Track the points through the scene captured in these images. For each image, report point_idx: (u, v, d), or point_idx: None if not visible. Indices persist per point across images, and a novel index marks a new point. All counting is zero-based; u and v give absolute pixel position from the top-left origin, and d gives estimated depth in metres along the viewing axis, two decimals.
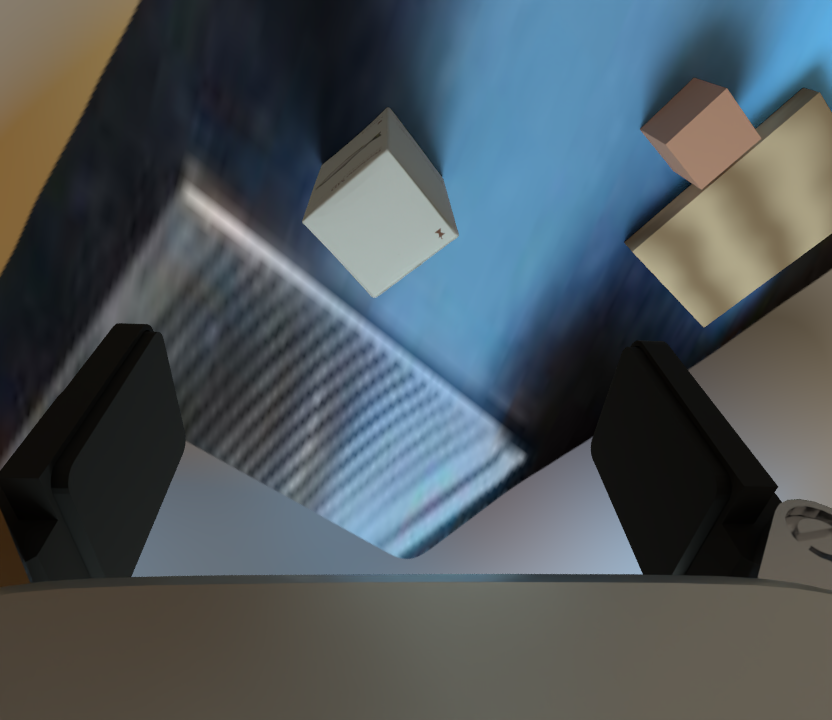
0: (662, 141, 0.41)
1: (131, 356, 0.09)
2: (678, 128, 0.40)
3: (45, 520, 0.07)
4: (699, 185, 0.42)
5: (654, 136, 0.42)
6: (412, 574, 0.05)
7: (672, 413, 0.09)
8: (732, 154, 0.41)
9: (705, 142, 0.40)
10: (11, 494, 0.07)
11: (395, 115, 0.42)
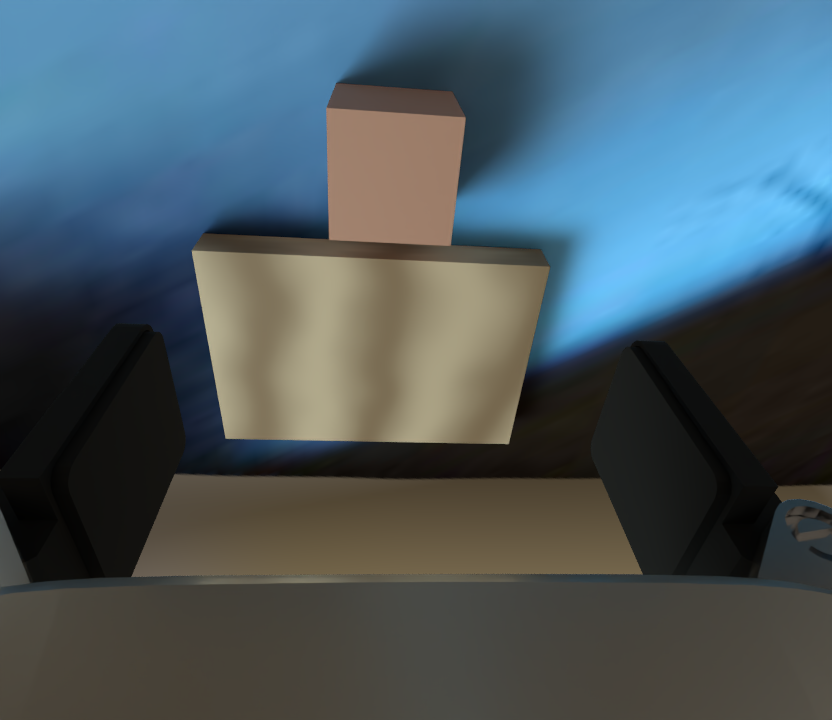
0: (330, 104, 0.20)
1: (131, 356, 0.09)
2: (364, 107, 0.20)
3: (45, 520, 0.07)
4: (330, 230, 0.22)
5: (333, 95, 0.21)
6: (412, 574, 0.05)
7: (672, 413, 0.09)
8: (403, 229, 0.22)
9: (382, 172, 0.21)
10: (11, 494, 0.07)
11: None
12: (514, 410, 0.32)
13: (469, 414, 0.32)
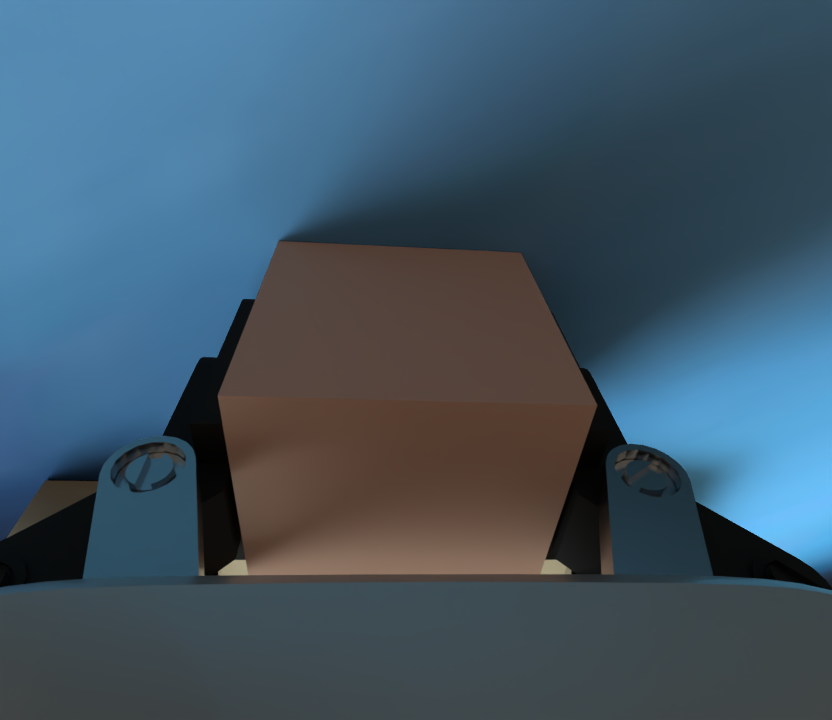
0: (235, 364, 0.08)
1: None
2: (326, 375, 0.07)
3: (221, 463, 0.08)
4: None
5: (256, 310, 0.09)
6: (412, 574, 0.05)
7: None
8: None
9: (375, 509, 0.08)
10: (196, 439, 0.08)
11: None
12: None
13: None
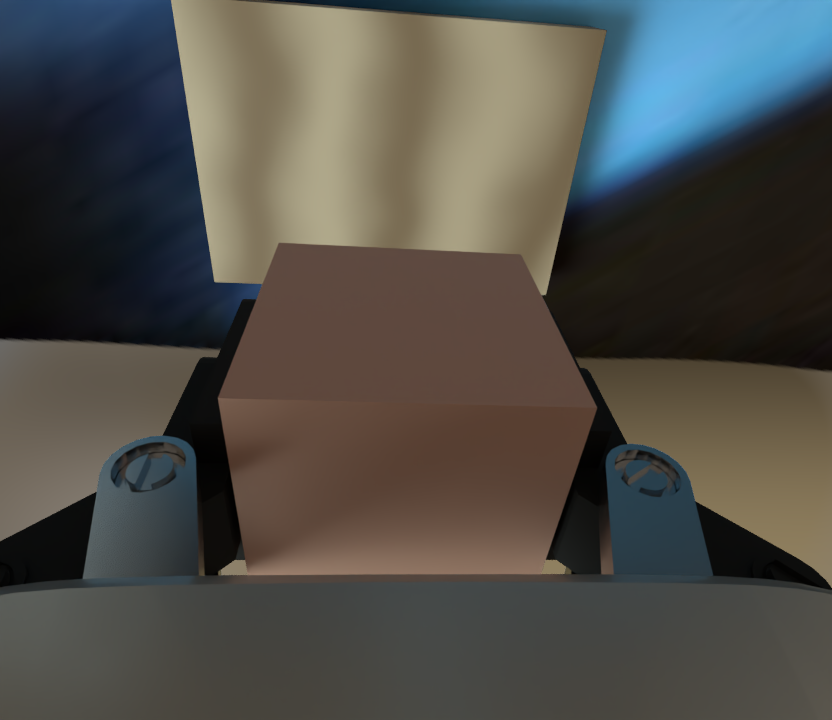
0: (235, 367, 0.08)
1: None
2: (327, 378, 0.07)
3: (221, 463, 0.08)
4: None
5: (256, 312, 0.09)
6: (412, 574, 0.05)
7: None
8: None
9: (374, 512, 0.08)
10: (197, 439, 0.08)
11: None
12: (554, 246, 0.27)
13: (502, 251, 0.27)
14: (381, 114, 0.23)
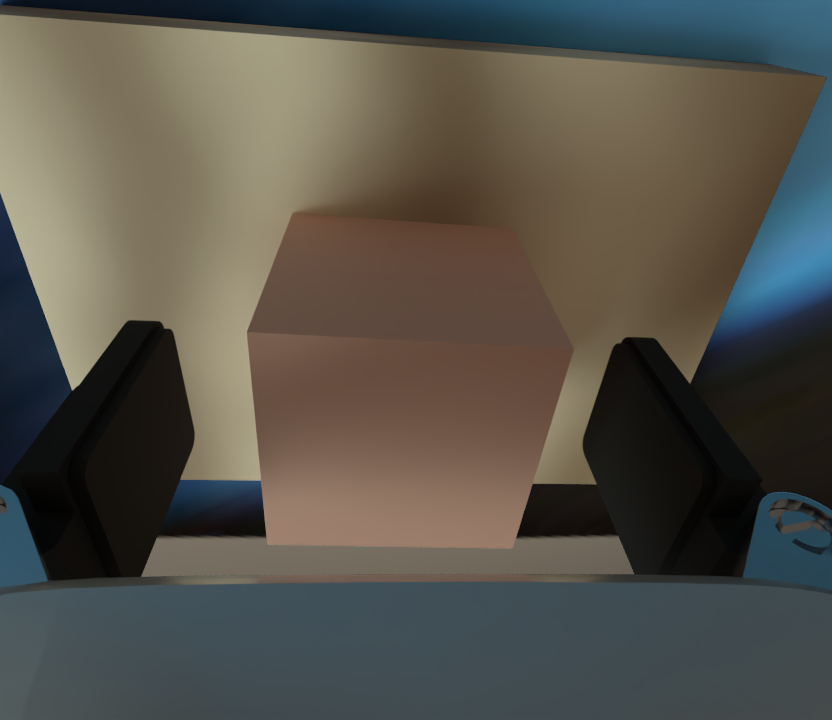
0: (260, 309, 0.09)
1: (143, 352, 0.09)
2: (340, 319, 0.09)
3: (62, 512, 0.07)
4: (270, 531, 0.11)
5: (276, 268, 0.10)
6: (412, 574, 0.05)
7: (660, 408, 0.09)
8: (418, 527, 0.11)
9: (379, 443, 0.10)
10: (29, 487, 0.07)
11: None
12: None
13: (581, 430, 0.16)
14: None
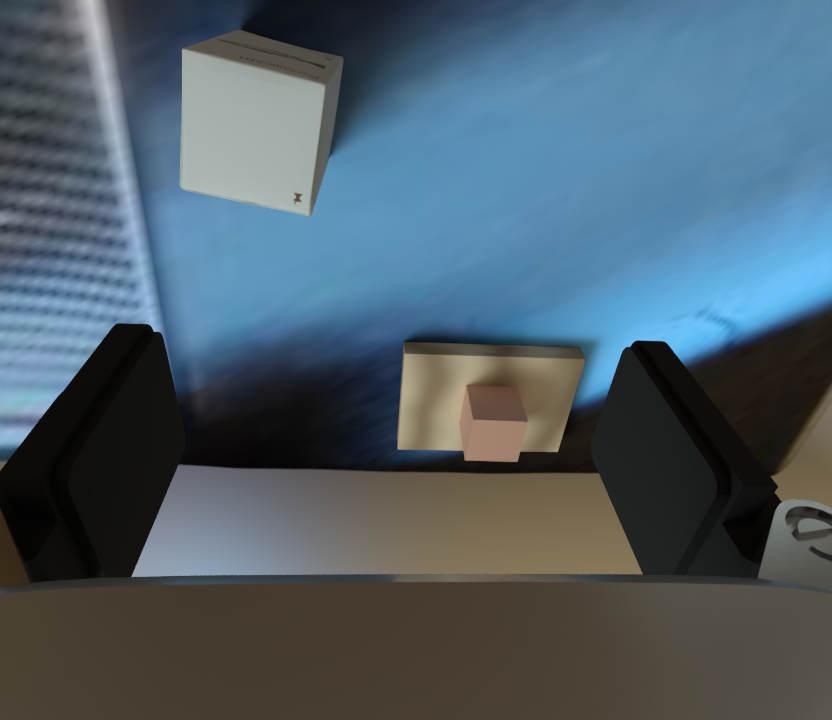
0: (472, 414, 0.49)
1: (131, 356, 0.09)
2: (487, 416, 0.49)
3: (45, 520, 0.07)
4: (466, 457, 0.51)
5: (470, 403, 0.50)
6: (412, 574, 0.05)
7: (672, 413, 0.09)
8: (497, 456, 0.51)
9: (491, 438, 0.50)
10: (11, 494, 0.07)
11: None
12: (562, 432, 0.57)
13: (537, 435, 0.57)
14: None
